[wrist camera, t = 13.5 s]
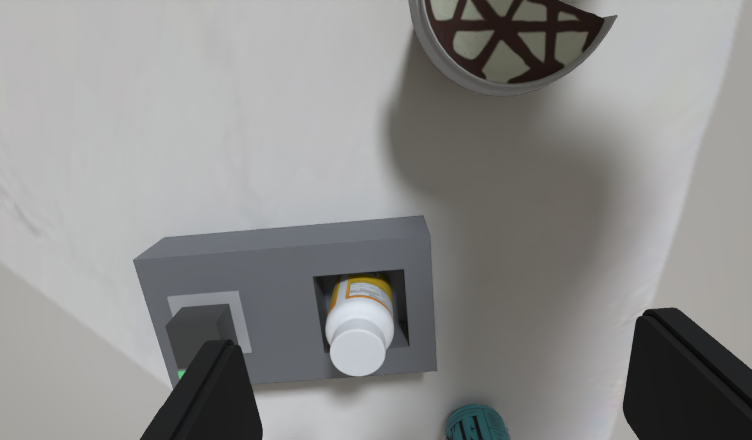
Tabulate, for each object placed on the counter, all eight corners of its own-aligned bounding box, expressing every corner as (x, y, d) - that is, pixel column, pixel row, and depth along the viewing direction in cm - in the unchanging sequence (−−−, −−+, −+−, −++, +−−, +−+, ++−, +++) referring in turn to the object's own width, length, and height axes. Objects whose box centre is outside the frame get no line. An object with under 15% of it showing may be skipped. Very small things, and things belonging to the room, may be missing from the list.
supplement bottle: (355, 322, 39) (347, 396, 30) (322, 281, 37) (304, 345, 28) (402, 295, 38) (410, 363, 29) (370, 251, 36) (367, 308, 27)
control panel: (423, 215, 36) (435, 250, 29) (430, 337, 40) (442, 395, 33) (164, 237, 37) (109, 276, 30) (196, 354, 41) (156, 415, 34)
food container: (378, 62, 32) (379, 53, 23) (405, -20, 30) (417, -67, 21) (518, 114, 34) (573, 126, 24) (551, 38, 32) (626, 19, 22)
